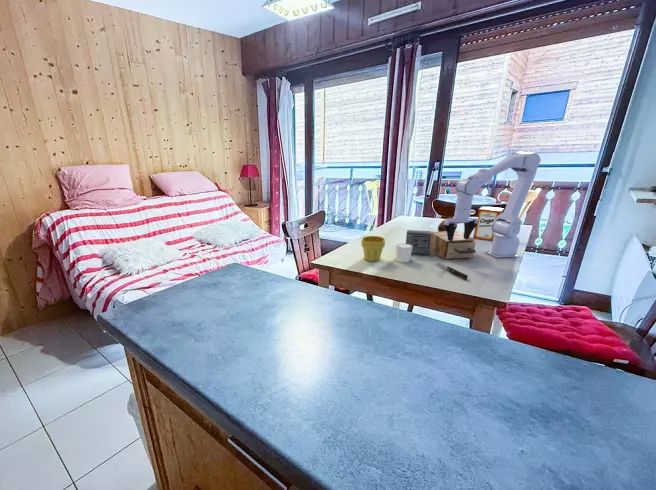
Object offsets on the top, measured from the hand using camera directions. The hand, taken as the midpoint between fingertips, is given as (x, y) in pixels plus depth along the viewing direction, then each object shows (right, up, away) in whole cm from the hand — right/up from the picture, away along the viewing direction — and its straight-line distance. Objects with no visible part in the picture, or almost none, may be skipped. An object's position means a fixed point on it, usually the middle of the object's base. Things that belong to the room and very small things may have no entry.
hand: (458, 239), depth 142 cm
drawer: (+3, -6, +7) cm, 10 cm away
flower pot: (-34, -8, +11) cm, 37 cm away
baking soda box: (+31, +3, +30) cm, 43 cm away
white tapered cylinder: (-21, -9, +7) cm, 24 cm away
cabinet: (+3, -5, +12) cm, 14 cm away
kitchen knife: (-8, -14, -8) cm, 18 cm away
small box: (-11, -5, +15) cm, 20 cm away
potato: (+17, +11, +40) cm, 44 cm away
